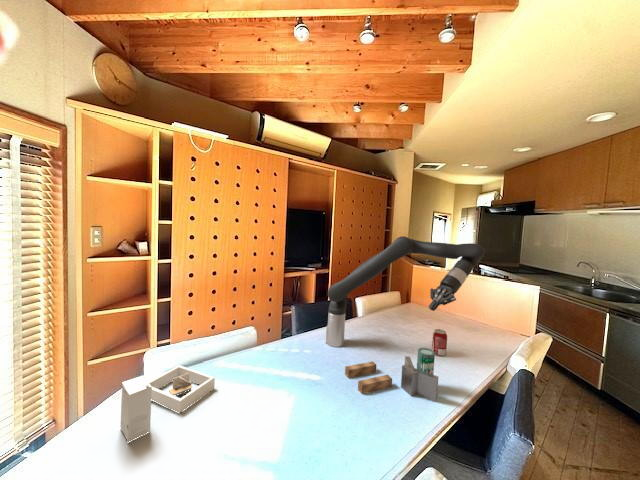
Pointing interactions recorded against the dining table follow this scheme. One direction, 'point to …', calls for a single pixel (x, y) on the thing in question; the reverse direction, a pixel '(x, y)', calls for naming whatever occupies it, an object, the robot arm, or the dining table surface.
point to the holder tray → (182, 403)
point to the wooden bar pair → (370, 383)
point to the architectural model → (181, 385)
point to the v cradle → (418, 381)
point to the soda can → (439, 342)
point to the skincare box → (136, 407)
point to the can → (426, 360)
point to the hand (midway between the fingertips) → (431, 309)
